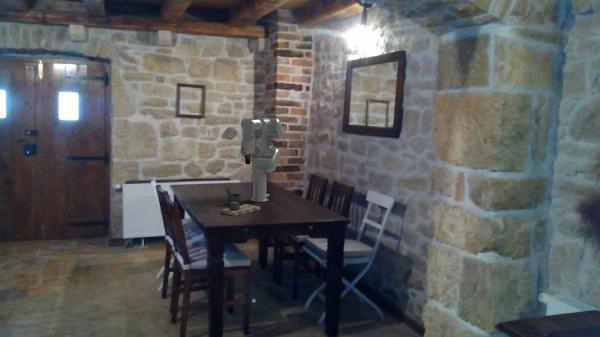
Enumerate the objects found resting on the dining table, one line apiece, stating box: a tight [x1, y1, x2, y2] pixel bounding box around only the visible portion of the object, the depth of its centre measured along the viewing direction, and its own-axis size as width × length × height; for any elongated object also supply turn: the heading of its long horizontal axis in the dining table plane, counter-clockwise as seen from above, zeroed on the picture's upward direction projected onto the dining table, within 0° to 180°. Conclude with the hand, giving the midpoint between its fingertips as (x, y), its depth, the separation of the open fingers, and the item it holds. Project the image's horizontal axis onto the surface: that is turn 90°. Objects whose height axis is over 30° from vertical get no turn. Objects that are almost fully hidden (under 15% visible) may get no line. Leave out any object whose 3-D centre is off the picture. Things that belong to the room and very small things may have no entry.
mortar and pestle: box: [225, 187, 242, 203], centre depth 337 cm, size 11×9×12 cm
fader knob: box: [229, 201, 241, 210], centre depth 311 cm, size 4×5×4 cm
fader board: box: [220, 203, 261, 216], centre depth 317 cm, size 26×12×2 cm, turn 147°
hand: (247, 164), depth 331 cm, fingers closed
